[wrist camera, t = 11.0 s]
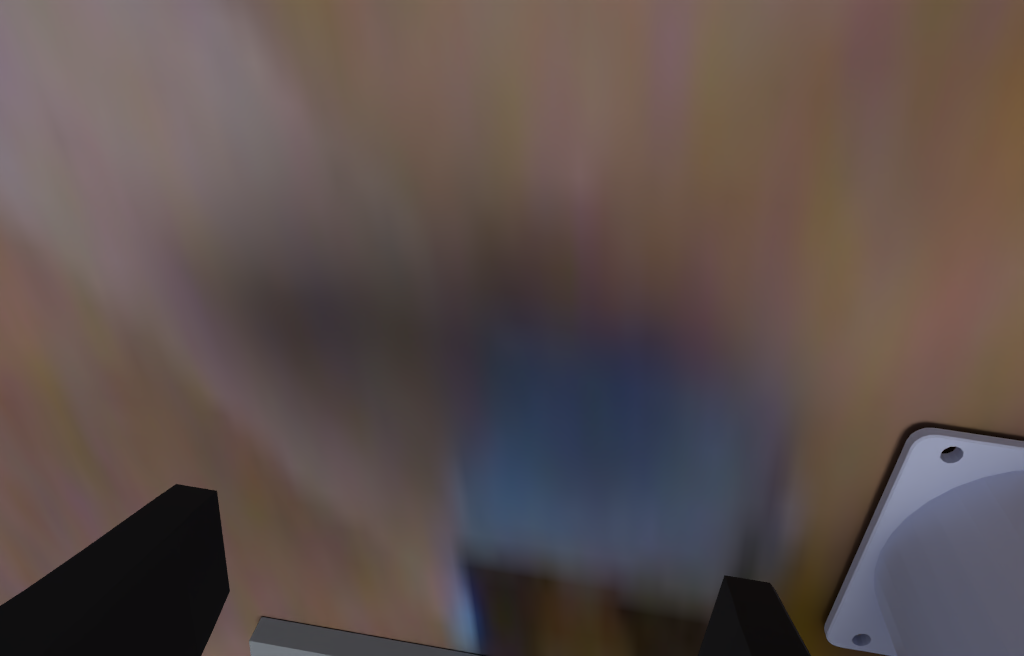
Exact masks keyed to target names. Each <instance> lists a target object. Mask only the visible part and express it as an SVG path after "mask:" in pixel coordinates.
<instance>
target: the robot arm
mask: <svg viewBox="0 0 1024 656" xmlns="http://www.w3.org/2000/svg"><path fill="white" fill-rule="evenodd" d="M948 447H956V448H955V449H954V451H952V452H950V453H942V451H943V450H944V449H946V448H948ZM229 592H230V590H229V582H228V574H227V566H226V558H225V551H224V543H223V535H222V527H221V520H220V512H219V504H218V496H217V491H214V490H208V489H202V488H196V487H190V486H184V485H178V484H176V485H174V486H173V487H171V488H170V489H168V490H167V491H165V492H164V493H163V494H161V495H160V496H158V497H157V498H155V499H154V500H153V501H151V502H150V503H148V504H147V505H145V506H144V507H143V508H141V509H140V510H138V511H137V512H136V513H134V514H133V515H131V516H130V517H129V518H127V519H126V520H124V521H123V522H122V523H120V524H119V525H117V526H116V527H115V528H113V529H112V530H110V531H109V532H108V533H106V534H105V535H103V536H102V537H100V538H99V539H98V540H96V541H95V542H93V543H92V544H91V545H89V546H88V547H86V548H85V549H84V550H82V551H81V552H79V553H78V554H76V555H75V556H74V557H72V558H71V559H69V560H68V561H66V562H65V563H63V564H62V565H60V566H59V567H58V568H56V569H55V570H53V571H52V572H50V573H49V574H47V575H46V576H44V577H43V578H42V579H40V580H39V581H37V582H36V583H34V584H33V585H31V586H30V587H29V588H27V589H26V590H24V591H23V592H21V593H20V594H18V595H16V596H15V597H13V598H12V599H10V600H9V601H7V602H6V603H4V604H2V605H1V606H0V656H201V655H202V653H203V650H204V648H205V646H206V644H207V642H208V640H209V637H210V635H211V633H212V631H213V629H214V626H215V624H216V622H217V619H218V617H219V615H220V612H221V610H222V608H223V605H224V603H225V601H226V599H227V596H228V594H229ZM824 631H825V634H826V638H827V640H828V642H830V643H831V644H832V645H835V646H838V647H842V648H848V649H854V650H860V651H865V652H871V653H877V654H883V655H889V656H1024V441H1019V440H1012V439H1006V438H999V437H992V436H986V435H979V434H972V433H966V432H959V431H953V430H946V429H939V428H923V429H920V430H917V431H915V432H914V433H912V434H911V435H910V436H909V438H908V439H907V440H906V443H905V445H904V447H903V449H902V452H901V454H900V456H899V458H898V461H897V463H896V465H895V467H894V470H893V472H892V474H891V476H890V479H889V481H888V483H887V485H886V488H885V490H884V492H883V494H882V497H881V499H880V501H879V503H878V506H877V508H876V510H875V512H874V515H873V517H872V519H871V521H870V524H869V526H868V528H867V530H866V533H865V535H864V537H863V539H862V542H861V544H860V546H859V548H858V551H857V553H856V555H855V557H854V560H853V562H852V564H851V566H850V569H849V571H848V573H847V575H846V578H845V580H844V582H843V584H842V587H841V589H840V591H839V593H838V596H837V598H836V600H835V602H834V605H833V607H832V609H831V611H830V614H829V616H828V618H827V620H826V623H825V626H824ZM858 634H861V635H858ZM698 656H811V655H810V653H809V651H808V649H807V648H806V646H805V644H804V642H803V640H802V639H801V637H800V635H799V633H798V631H797V629H796V628H795V626H794V624H793V622H792V620H791V618H790V617H789V615H788V613H787V611H786V609H785V607H784V605H783V604H782V602H781V600H780V598H779V596H778V594H777V592H776V590H775V589H774V588H773V586H772V585H771V584H770V583H767V582H761V581H755V580H749V579H743V578H737V577H731V576H724V579H723V582H722V585H721V588H720V591H719V594H718V597H717V600H716V603H715V606H714V609H713V612H712V615H711V618H710V621H709V624H708V627H707V630H706V633H705V636H704V639H703V642H702V645H701V648H700V651H699V654H698Z"/></svg>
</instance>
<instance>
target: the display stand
mask: <svg viewBox="0 0 1024 656" xmlns="http://www.w3.org/2000/svg"><path fill="white" fill-rule="evenodd" d="M249 643H250V651H251V656H480V655H474V654H469V653H463V652H457V651H452V650H446V649H440V648H435V647H429V646H424V645H418V644H412V643H407V642H401V641H395V640H390V639H384V638H378V637H373V636H367V635H361V634H356V633H350V632H345V631H339V630H333V629H328V628H322V627H316V626H311V625H305V624H299V623H294V622H288V621H283V620H277V619H271V618H266V617H261V619H260V621H259V623H258V625H257V627H256V629H255V631H254V633H253V635H252V637H251V638H250V640H249Z"/></svg>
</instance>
